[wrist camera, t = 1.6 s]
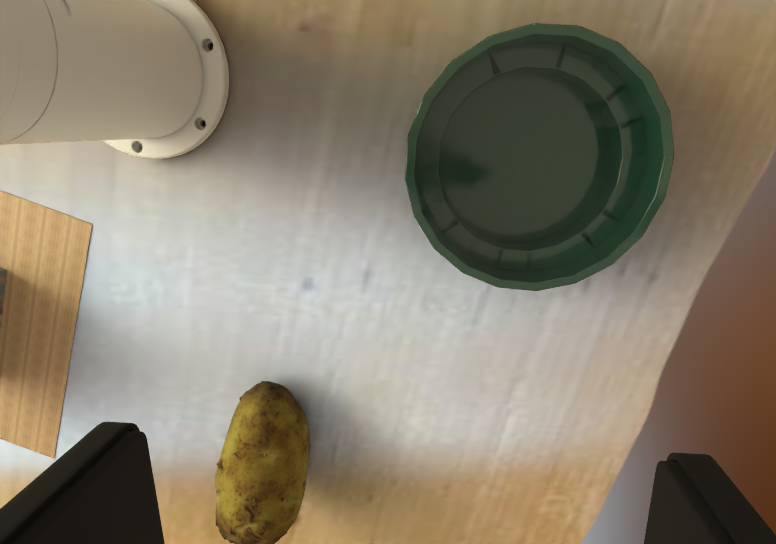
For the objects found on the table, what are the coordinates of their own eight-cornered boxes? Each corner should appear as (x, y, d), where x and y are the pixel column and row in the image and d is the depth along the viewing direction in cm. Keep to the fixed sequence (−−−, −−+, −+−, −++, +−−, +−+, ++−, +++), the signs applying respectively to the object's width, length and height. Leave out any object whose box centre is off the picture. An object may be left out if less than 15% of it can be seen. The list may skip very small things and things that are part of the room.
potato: (346, 400, 44) (325, 457, 36) (298, 507, 48) (271, 579, 40) (258, 363, 44) (220, 413, 36) (218, 473, 48) (175, 540, 40)
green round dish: (379, 218, 39) (368, 233, 33) (465, 3, 34) (470, -22, 29) (568, 297, 39) (590, 326, 34) (681, 95, 35) (728, 88, 29)
